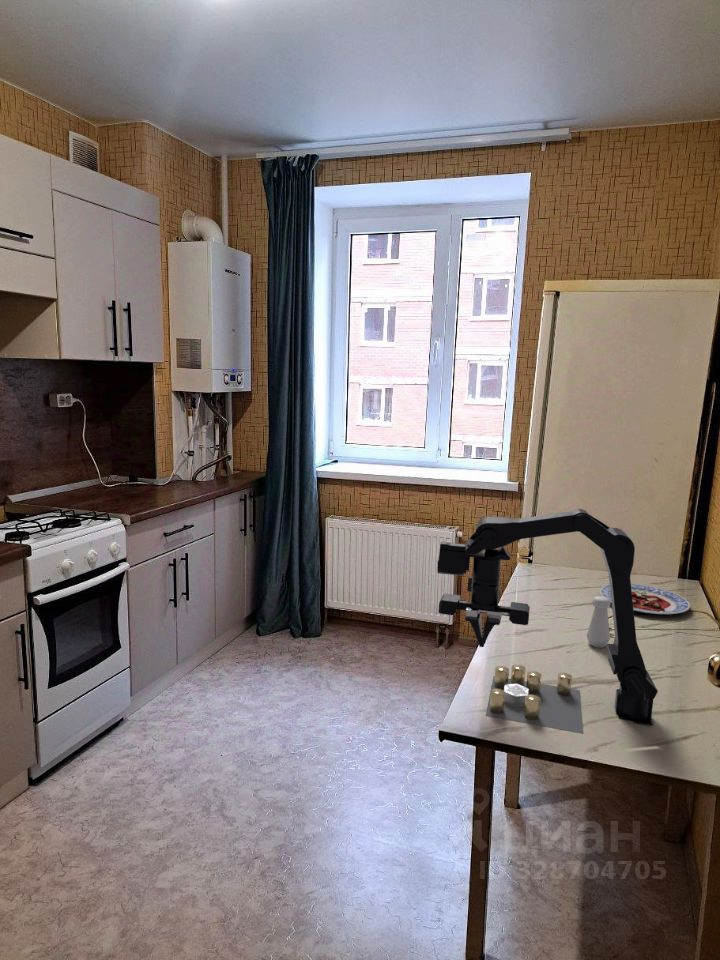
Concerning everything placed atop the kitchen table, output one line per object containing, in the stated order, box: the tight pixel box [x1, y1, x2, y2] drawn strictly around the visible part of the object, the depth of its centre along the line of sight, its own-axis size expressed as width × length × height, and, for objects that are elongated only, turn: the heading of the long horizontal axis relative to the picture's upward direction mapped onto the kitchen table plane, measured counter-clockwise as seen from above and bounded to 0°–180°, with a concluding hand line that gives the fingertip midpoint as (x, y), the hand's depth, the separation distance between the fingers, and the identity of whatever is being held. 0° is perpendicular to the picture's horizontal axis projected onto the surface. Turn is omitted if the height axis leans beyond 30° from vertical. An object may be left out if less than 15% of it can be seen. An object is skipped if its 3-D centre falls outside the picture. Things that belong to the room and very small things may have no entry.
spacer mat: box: [485, 675, 584, 735], centre depth 134 cm, size 19×18×1 cm
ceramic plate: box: [599, 583, 691, 615], centre depth 196 cm, size 26×26×3 cm
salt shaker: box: [586, 595, 611, 649], centre depth 164 cm, size 6×6×13 cm
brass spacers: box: [489, 664, 573, 720], centre depth 134 cm, size 16×16×4 cm
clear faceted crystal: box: [504, 684, 528, 707], centre depth 135 cm, size 6×5×2 cm
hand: (481, 646), depth 135 cm, fingers closed
